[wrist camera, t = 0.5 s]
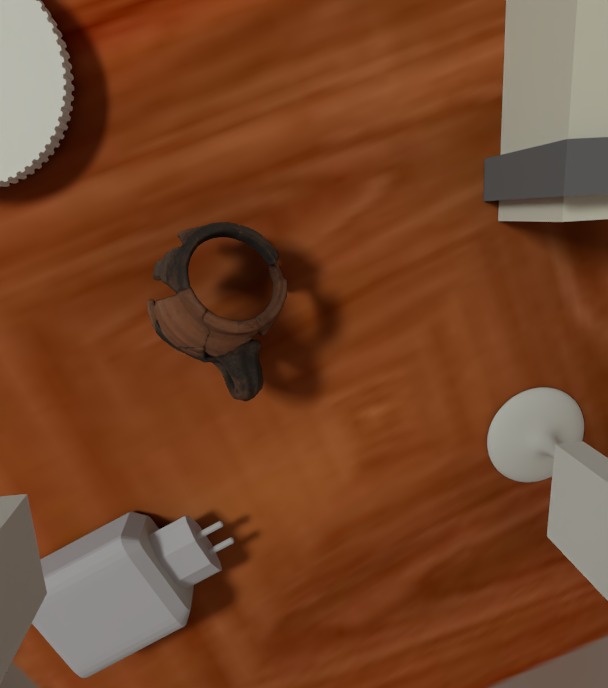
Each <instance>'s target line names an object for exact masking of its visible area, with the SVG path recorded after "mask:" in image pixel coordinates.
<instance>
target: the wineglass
mask: <svg viewBox="0 0 608 688" xmlns="http://www.w3.org/2000/svg"><path fill="white" fill-rule="evenodd" d="M583 435H584V419H583V415H582V412H581V409H580V407H579V406H578V404H577V403H576V401H575V400H574V399H573V398H572V397H571V396H569V395H568V394H566V393H565V392H563V391H560V390H558V389H554V388H547V387H540V388H533V389H529V390H526V391H524V392H521V393H519V394H517V395H516V396H514V397H512V398H511V399H510V400H508V401H507V402H506V403H505V404H504V405H503V406H502V407H501V408H500V409H499V411H498V412H497V413H496V415H495V417H494V418H493V420H492V423H491V425H490V428H489V431H488V437H487V448H488V454H489V457H490V459H491V461H492V463H493V465H494V466H495V468H496V469H497V470H498V471H499V472H500V473H501V474H503V475H504V476H506V477H507V478H509V479H512V480H515V481H519V482H536V481H541V480H544V479H547V478H549V477H552V475H553V464H554V453H555V444H561V443H571V442H582V440H583Z"/></svg>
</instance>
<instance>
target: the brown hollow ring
mask: <svg viewBox="0 0 608 688" xmlns="http://www.w3.org/2000/svg"><path fill="white" fill-rule="evenodd" d="M177 235H178V237H179V238H180V240H181V242H182V246H181V247H178V248H174V249H172V250H170V251H168V252H167V253H166V254H165V256H164V257H163V259H161V260H159V261H158V262H156V264H155V268H154V272H153V278H154V280H162V282H164V283H165V284H167V285H168V286H169V287H171V288H172V289H173V290H174V291H175V292H176V293H177V294H176V295H173V296H170V297H168V298H165V299H162V300H158V301H156V302H155V301H154V300H153V299H150V300H148V302H147V307H148V314H149V316H150V319H151V322H152V325H153V327H154V328H155V330H156V333H157V334H158V335H159V336H160V337H161V338H162V339H163V340H164V341H165V342H167V343H168V344H169V345H170V346H172V347H173V348H175V349H177V350H179V351H181V352H183V353H185V354H187V355H189V356H191V357H193V358H196V359H198V360H201V361H203V362H212V363H213V364H214V365H216V366H217V367H218V368H219V370H220V371H221V372H222V375H223V377H224V379H225V382H226V385H227V388H228V390H229V392H230V394H231V395H232V397H233V398H234V399H237V400H242V401H248V400H250V399H252V398H254V397H255V396H256V395H257V394H258V392H259V391H260V390H261V389H262V386H263V375H262V368H261V365H260V362H259V351H260V349H261V343H260V341H258V340H251V339H253V337H254V335H255V334H257V333H259V334H260V335H262V336H264V335H265V334H266V333H267V331H268V330H269V329H270V328H271V326H272V324H273V323H274V321H275V320H276V318H277V316H278V314H279V312H280V311H281V309H282V307H283V305H284V302H285V299H286V297H287V280H286V279H284V278H283V275H282V272H281V269H280V267H279V265H278V263H277V260H278V257H279V254H278V252H277V250H276V249H275V248H274V247H273V246H272V244H271V243H270V242H269V241H267V240H266V239H265V238H264V237H263V236H262V235H260V234H259V233H257V232H256V231H254V230H253V229H250V228H248V227H245V226H239V225H237V224H234V223H229V222H225V223H222V222H220V223H211V224H208V225H205V226H201V227H196V228H192V229H188V230H185V231H182V232H180V233H178V234H177ZM217 237H229V238H233V239H237V240H239V241H242V242H244V243H246V244H248V245H250V246H251V247H252V248H254V249H255V250H256V251H257V252H258V253H259V254H260V255H261V256H262V257H263V258H264V260H265V261H266V263H267V264H268V265H269V276H270V278H271V280H272V282H273V283H274V284H273V295H272V299H271V301H270V303H269V305H268V307H267V308H266V309H265V310H264V311H263V312H262V313H261V314H260V315H258V316H256V317H255V318H253V319H250V320H245V321H233V320H228V319H225V318H222V317H219V316H217V315H215V314H214V313H212V312H211V311H209V310H208V309H207V308H206V307H205V306H204V305H203V304H201V302H200V301H199V300H198V299H197V297H196V295H195V293H194V292H193V290H192V288H191V287H190V283H189V277H188V266H189V261H190V258H191V256H192V254H193V252H194V251H195V249H196V248H197V246H199V245H200V244H201V243H203V242H205V241H207V240H209V239H212V238H217ZM155 303H156V304H155Z"/></svg>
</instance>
